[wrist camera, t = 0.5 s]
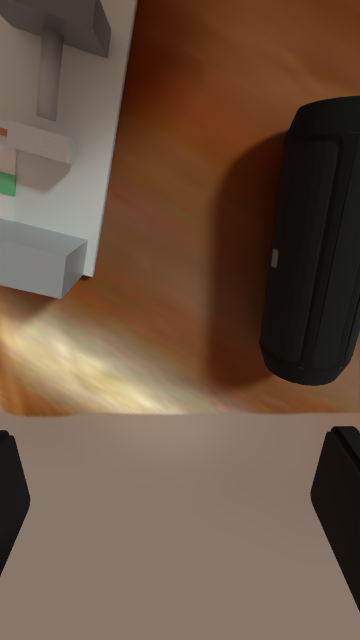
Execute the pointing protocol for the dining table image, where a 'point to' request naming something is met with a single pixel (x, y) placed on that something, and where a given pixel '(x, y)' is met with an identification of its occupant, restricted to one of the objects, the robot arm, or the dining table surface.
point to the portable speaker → (316, 247)
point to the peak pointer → (40, 142)
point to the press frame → (51, 175)
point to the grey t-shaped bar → (58, 38)
